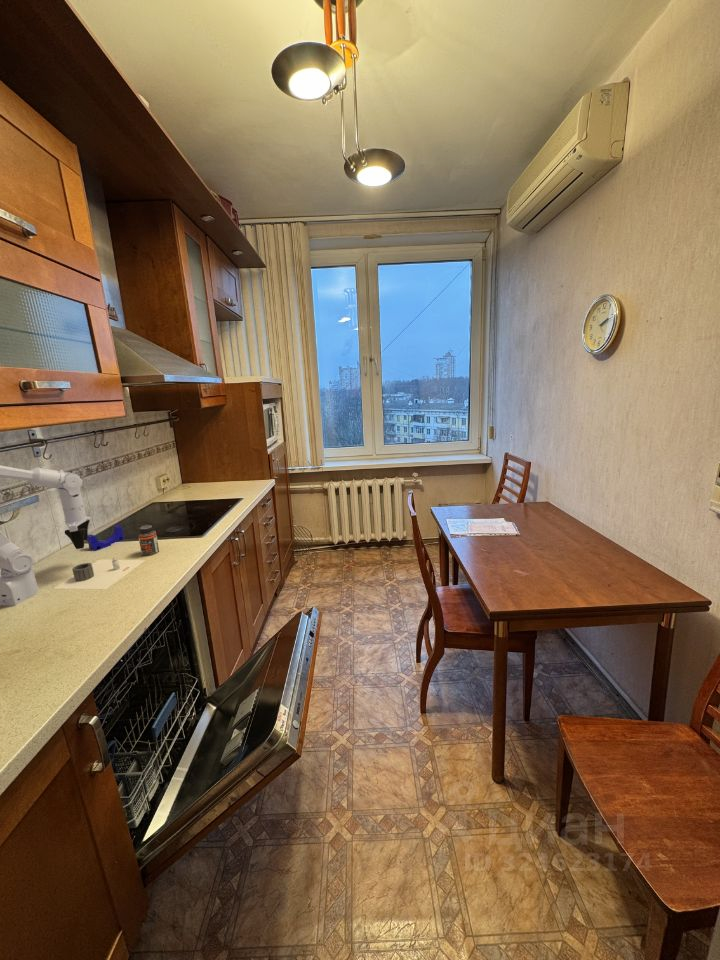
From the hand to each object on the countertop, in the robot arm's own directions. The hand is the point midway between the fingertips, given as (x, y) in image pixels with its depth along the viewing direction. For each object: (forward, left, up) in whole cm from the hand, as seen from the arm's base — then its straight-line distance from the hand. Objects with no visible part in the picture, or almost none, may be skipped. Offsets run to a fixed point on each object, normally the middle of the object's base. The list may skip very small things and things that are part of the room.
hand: (82, 544), depth 131 cm
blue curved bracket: (+22, +9, -10) cm, 25 cm away
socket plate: (-4, -8, -10) cm, 13 cm away
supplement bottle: (+12, -15, -10) cm, 22 cm away
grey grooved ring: (-7, -4, -9) cm, 12 cm away
